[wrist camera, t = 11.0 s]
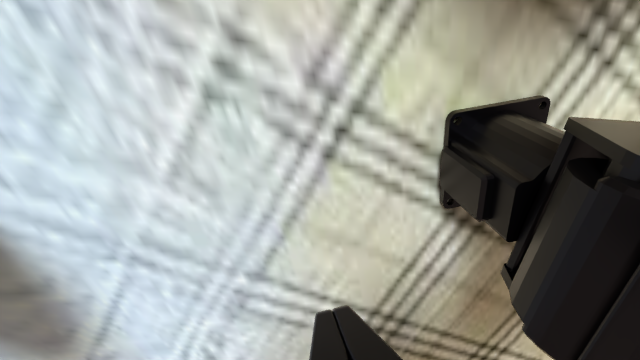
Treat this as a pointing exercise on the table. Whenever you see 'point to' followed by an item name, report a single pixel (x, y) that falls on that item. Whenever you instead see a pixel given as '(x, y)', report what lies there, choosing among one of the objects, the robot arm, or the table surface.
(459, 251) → the table surface
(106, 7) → the table surface
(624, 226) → the robot arm
